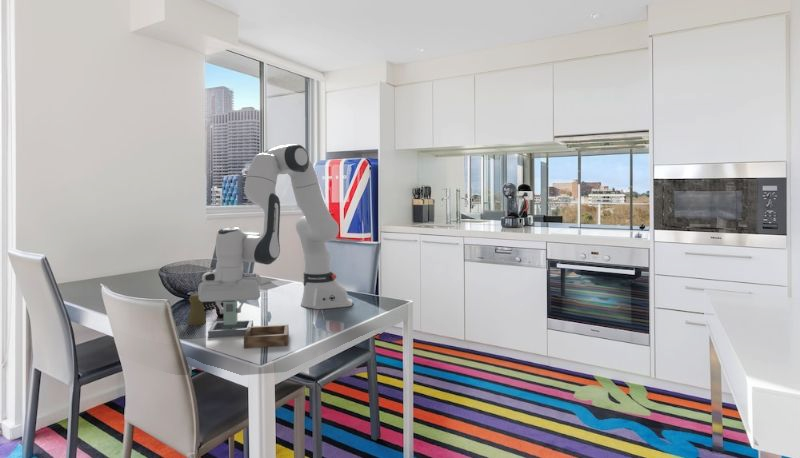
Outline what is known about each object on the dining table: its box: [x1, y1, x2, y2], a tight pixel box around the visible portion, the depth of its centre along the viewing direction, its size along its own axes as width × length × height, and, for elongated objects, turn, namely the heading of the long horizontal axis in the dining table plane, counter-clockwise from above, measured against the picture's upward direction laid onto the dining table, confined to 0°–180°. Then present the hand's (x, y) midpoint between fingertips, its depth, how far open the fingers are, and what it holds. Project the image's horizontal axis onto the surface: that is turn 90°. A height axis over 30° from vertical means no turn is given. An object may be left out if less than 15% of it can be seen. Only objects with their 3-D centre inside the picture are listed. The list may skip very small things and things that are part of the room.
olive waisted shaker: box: [188, 293, 207, 327], centre depth 168 cm, size 6×6×11 cm
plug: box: [223, 301, 238, 325], centre depth 158 cm, size 4×5×8 cm
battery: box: [197, 282, 216, 312], centre depth 187 cm, size 7×4×11 cm, turn 147°
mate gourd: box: [215, 301, 224, 319], centre depth 176 cm, size 8×8×15 cm
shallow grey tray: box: [207, 319, 254, 339], centre depth 159 cm, size 13×11×2 cm
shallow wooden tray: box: [243, 324, 290, 349], centre depth 149 cm, size 13×11×4 cm
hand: (230, 312), depth 158 cm, fingers closed on plug, 4 cm apart
